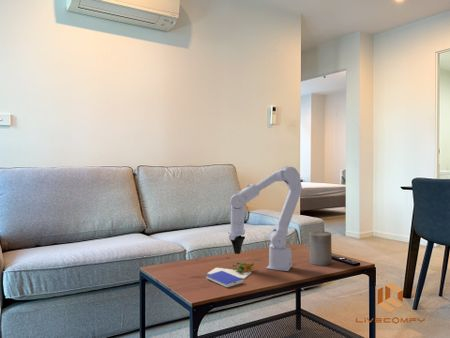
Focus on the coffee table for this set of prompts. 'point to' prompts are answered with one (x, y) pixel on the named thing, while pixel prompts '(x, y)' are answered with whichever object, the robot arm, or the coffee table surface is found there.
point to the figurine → (243, 267)
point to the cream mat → (231, 272)
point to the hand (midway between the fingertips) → (237, 253)
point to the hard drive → (224, 278)
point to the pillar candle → (320, 248)
